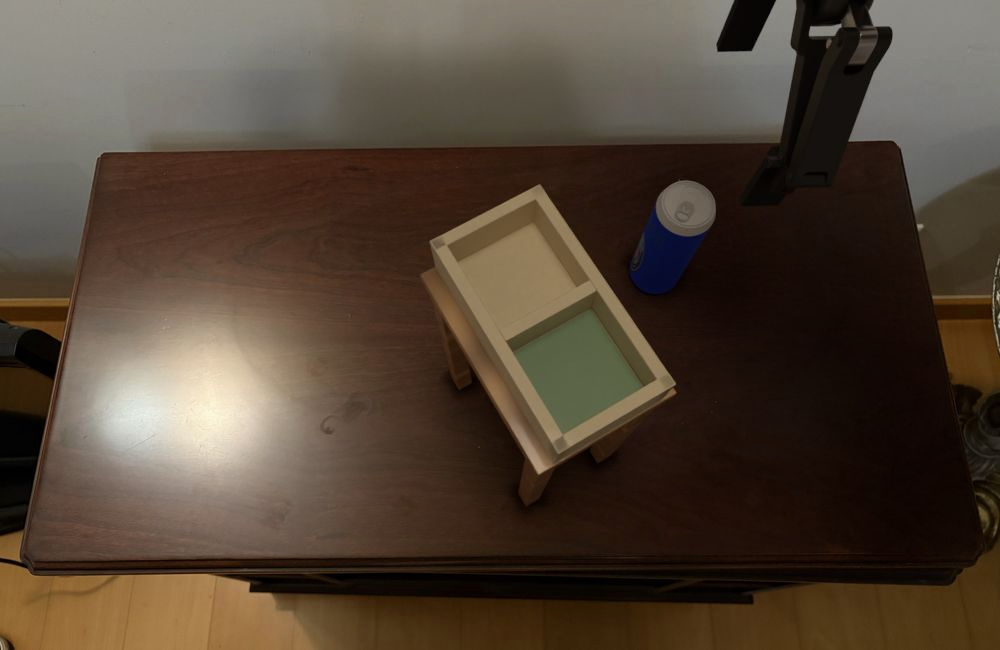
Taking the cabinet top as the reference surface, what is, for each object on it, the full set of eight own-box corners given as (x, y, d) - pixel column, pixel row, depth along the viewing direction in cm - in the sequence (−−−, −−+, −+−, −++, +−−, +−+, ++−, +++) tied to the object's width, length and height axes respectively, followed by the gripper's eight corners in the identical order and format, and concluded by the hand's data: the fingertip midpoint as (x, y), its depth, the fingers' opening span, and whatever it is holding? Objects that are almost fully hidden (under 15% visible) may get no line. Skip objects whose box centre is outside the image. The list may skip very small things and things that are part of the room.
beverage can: (642, 243, 76) (674, 167, 61) (685, 265, 75) (729, 194, 60) (619, 281, 74) (647, 213, 60) (663, 305, 73) (702, 241, 59)
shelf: (614, 456, 68) (677, 392, 44) (525, 510, 67) (538, 475, 42) (533, 329, 72) (550, 205, 48) (448, 376, 71) (419, 274, 46)
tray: (661, 400, 43) (676, 384, 40) (553, 464, 42) (558, 454, 38) (537, 214, 48) (539, 183, 44) (435, 267, 46) (429, 240, 43)
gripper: (773, -320, 37) (678, -9, 57) (863, 71, 29) (716, 274, 49) (915, -323, 37) (771, -11, 57) (1045, 67, 29) (824, 272, 49)
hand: (745, 121), depth 53 cm, fingers open, 13 cm apart
